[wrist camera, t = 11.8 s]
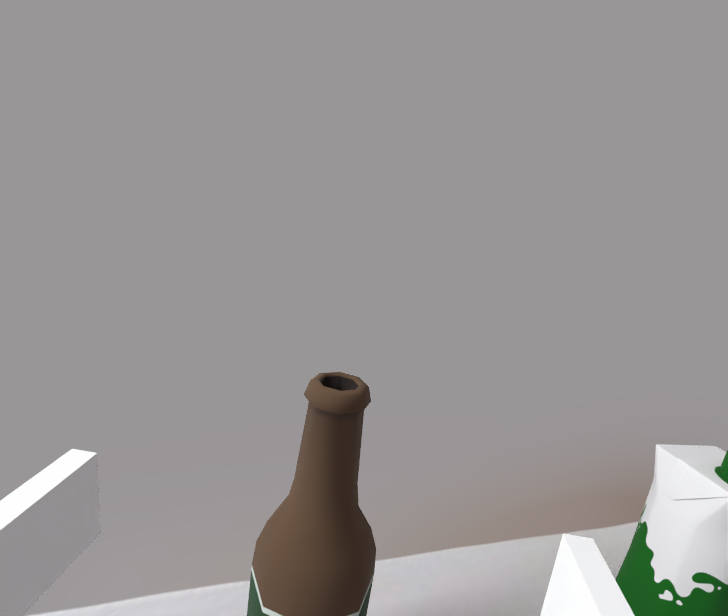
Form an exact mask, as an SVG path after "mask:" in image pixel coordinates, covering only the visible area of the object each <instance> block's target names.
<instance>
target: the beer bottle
mask: <svg viewBox="0 0 728 616" xmlns="http://www.w3.org/2000/svg"><path fill="white" fill-rule="evenodd" d="M304 395H305V396H306V398H307V399H308V401H309V405H308V410H307V415H306V421H305V426H304V431H303V436H302V441H301V446H300V452H299V457H298V462H297V468H296V473H295V478H294V481H293V484H292V487H291V490H290V493H289V495H288V497H287V498H286V499H285V500H284V501H283V503H282V504H281V505H280V506H279V507H278V509H277V510H276V511H275V512H274V514H273V515H272V516H271V517H270V519H269V520H268V521H267V523H266V525H265V527H264V528H263V530H262V532H261V534H260V536H259V538H258V540H257V542H256V547H255V552H254V557H253V562H252V570H251V580H250V590H249V601H248V611H247V616H366V614H367V609H368V603H369V598H370V592H371V587H372V581H373V575H374V567H375V556H376V547H375V543H374V538H373V534H372V530H371V527H370V525H369V524H368V522H367V520H366V518H365V517H364V515H363V513H362V511H361V510H360V508H359V506H358V486H357V482H358V471H359V459H360V448H361V436H362V426H363V415H364V409H365V408H366V407H367V405H368V404H369V403H370V402H371V399H370V392H369V387H368V386H367V385H366V384H365V383H364V382H363V381H362V380H361V379H360V378H359V377H356V376H352V375H348V374H345V373H341V372H333V373H320V374H318V375H317V376H316V377H314V378H313V379H312V380H311V381H310V382H309V384H308V387H307V389H306V391H305V393H304Z"/></svg>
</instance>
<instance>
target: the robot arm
mask: <svg viewBox="0 0 728 616" xmlns="http://www.w3.org/2000/svg"><path fill="white" fill-rule="evenodd" d="M100 526H101V525H100V504H99V484H98V462H97V453H93V452H87V451H81V450H76V449H71V450H70V451H69V452H67V453H66V454H64V455H63V456H62V457H60V458H59V459H58V460H56V461H55V462H53V463H52V464H51V465H49V466H48V467H47V468H45V469H44V470H42V471H41V472H40V473H38V474H37V475H35V476H34V477H33V478H31V479H30V480H29V481H27V482H26V483H25V484H23V485H22V486H20V487H19V488H17V489H16V490H15V491H13V492H12V493H11V494H9V495H8V496H6V497H5V498H4V499H2V500H1V501H0V616H23V615H24V614H25V613H26V612H27V610H28V609H29V608H30V607H31V606H32V605H33V604H34V603H35V602H36V601H37V600H38V599H39V597H41V596H42V595H43V594H44V592H45V591H46V590H47V589H48V588H49V587H50V586H51V585H52V584H53V583H54V582H55V581H56V579H58V578H59V577H60V575H61V574H62V573H63V572H64V571H65V570H66V569H67V568H68V567H69V566H70V565H71V564H72V563H73V562H74V561H75V560H76V559H77V557H78V556H79V555H80V554H81V553H82V552H83V551H84V550H85V549H86V548H87V547H88V546H89V545H90V543H92V542H93V540H94V539H95V538H96V537H97V536H98V535H99V534H100V533H101V527H100ZM541 616H635V615H634V614H633V612H632V610H631V608H630V606H629V604H628V603H627V601H626V599H625V597H624V595H623V593H622V592H621V590H620V588H619V586H618V584H617V582H616V580H615V579H614V577H613V575H612V573H611V571H610V569H609V568H608V566H607V564H606V562H605V560H604V558H603V557H602V555H601V553H600V551H599V549H598V547H597V546H596V544H595V542H594V540H593V539H592V538H586V537H580V536H574V535H569V534H563V536H562V539H561V543H560V546H559V550H558V554H557V557H556V561H555V564H554V568H553V572H552V575H551V579H550V582H549V586H548V590H547V593H546V597H545V600H544V604H543V608H542V611H541Z"/></svg>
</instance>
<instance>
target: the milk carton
mask: <svg viewBox="0 0 728 616" xmlns="http://www.w3.org/2000/svg"><path fill="white" fill-rule="evenodd" d="M616 582H617V584H618V586H619V588H620V590H621V592H622V593H623V595H624V597H625V599H626V601H627V603H628V604H629V606H630V608H631V610H632V612H633V614H634V615H635V616H728V451H727V452H725V451H722V449H720V448H718V447H716V446H692V445H691V446H689V445H662V444H657V445H656V455H655V471H654V480H653V484H652V486H651V489H650V492H649V495H648V498H647V500H646V503H645V506H644V509H643V512H642V515H641V518H640V520H639V523H638V526H637V529H636V532H635V535H634V537H633V540H632V543H631V546H630V548H629V551H628V553H627V555H626V557H625V560H624V562H623V564H622V566H621V568H620V571H619V573H618V575H617V577H616Z"/></svg>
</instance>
